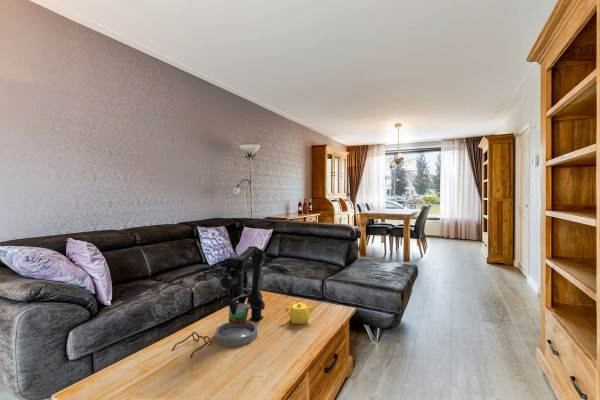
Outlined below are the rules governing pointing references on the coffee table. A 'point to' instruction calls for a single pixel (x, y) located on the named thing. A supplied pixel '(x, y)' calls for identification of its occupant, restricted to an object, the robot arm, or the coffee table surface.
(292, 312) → the teapot
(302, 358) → the coffee table surface
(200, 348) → the glasses
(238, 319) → the food container
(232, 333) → the bowl
